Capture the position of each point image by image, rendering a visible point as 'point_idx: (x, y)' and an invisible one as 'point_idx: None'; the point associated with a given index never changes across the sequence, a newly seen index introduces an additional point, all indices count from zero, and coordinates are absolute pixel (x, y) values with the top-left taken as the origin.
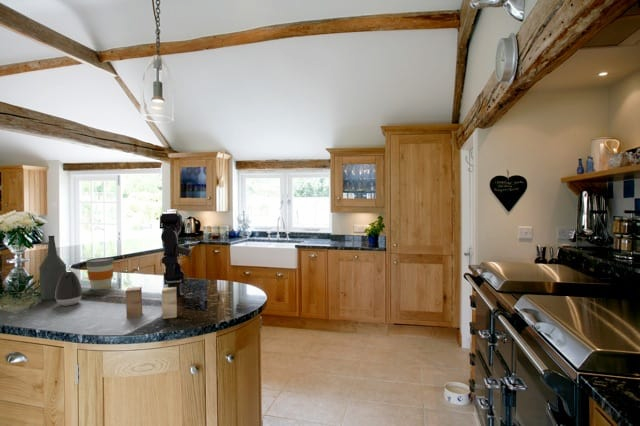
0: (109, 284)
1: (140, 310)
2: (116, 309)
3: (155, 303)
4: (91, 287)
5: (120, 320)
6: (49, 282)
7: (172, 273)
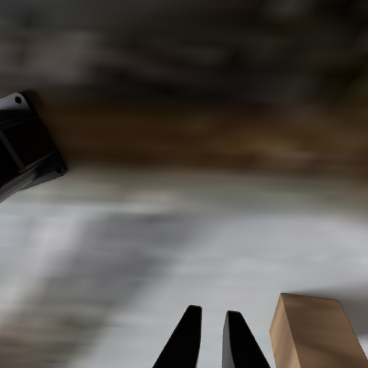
0: None
1: (347, 324)
2: None
3: (145, 241)
4: None
5: None
6: None
7: (255, 351)
